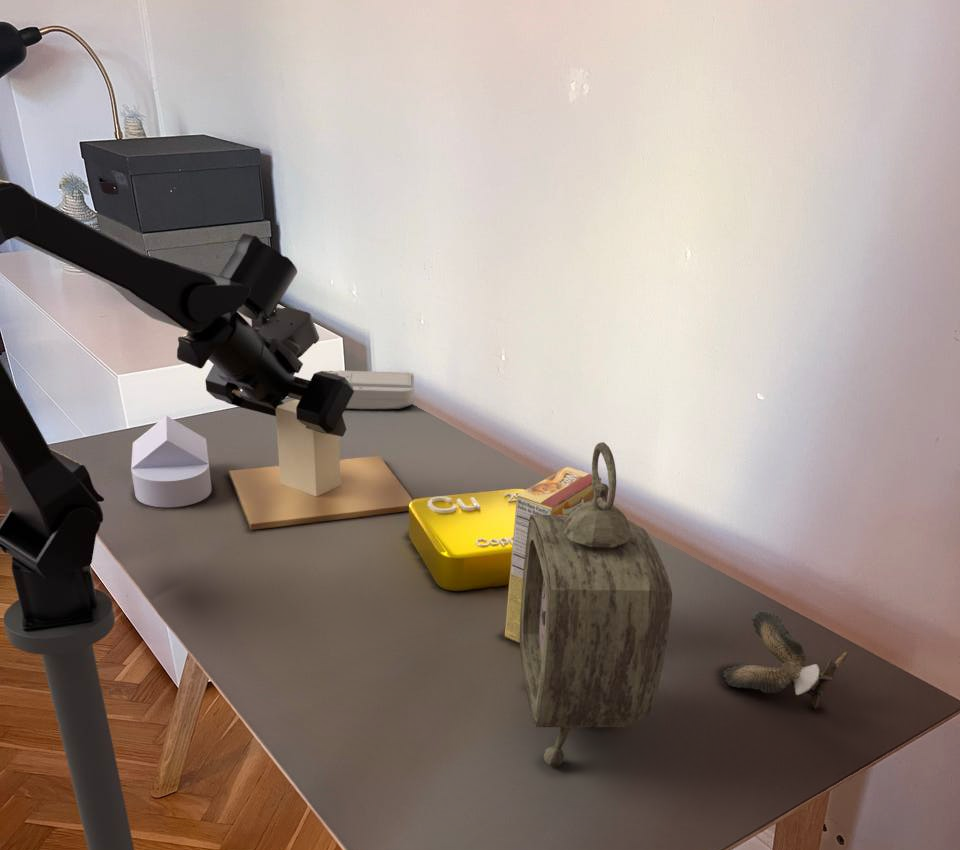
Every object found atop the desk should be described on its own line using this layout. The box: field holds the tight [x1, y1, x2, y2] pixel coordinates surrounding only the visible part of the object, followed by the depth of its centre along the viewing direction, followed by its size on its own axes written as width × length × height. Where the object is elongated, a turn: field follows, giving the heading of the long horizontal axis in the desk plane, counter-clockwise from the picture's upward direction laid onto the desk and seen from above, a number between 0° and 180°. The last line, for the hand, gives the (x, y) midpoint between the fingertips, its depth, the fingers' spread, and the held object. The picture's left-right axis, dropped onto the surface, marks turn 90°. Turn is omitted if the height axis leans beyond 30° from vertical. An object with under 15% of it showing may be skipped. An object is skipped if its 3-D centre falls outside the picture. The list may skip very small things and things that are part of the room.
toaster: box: [275, 399, 341, 497], centre depth 116 cm, size 6×6×10 cm
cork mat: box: [228, 455, 414, 531], centre depth 118 cm, size 20×16×1 cm
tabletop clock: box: [519, 441, 673, 767], centre depth 74 cm, size 14×9×25 cm, turn 4°
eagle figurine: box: [722, 609, 849, 710], centre depth 85 cm, size 8×7×9 cm
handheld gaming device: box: [323, 370, 415, 410], centre depth 147 cm, size 9×15×4 cm, turn 94°
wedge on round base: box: [130, 415, 212, 508], centre depth 116 cm, size 9×7×13 cm
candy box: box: [504, 466, 602, 644], centre depth 90 cm, size 9×4×15 cm, turn 145°
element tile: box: [408, 488, 526, 592], centre depth 105 cm, size 15×15×5 cm
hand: (314, 423), depth 115 cm, fingers open, 9 cm apart
